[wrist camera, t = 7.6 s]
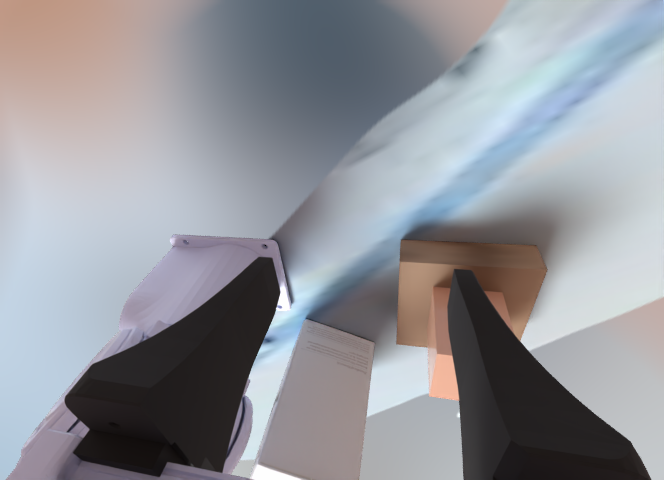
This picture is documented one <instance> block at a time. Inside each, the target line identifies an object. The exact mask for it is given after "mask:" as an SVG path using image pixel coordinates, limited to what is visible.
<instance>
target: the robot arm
mask: <svg viewBox="0 0 664 480" xmlns="http://www.w3.org/2000/svg"><path fill="white" fill-rule="evenodd" d="M186 240H187V241H188V242H187V241H186ZM170 242H171V244H172V246H173V247H172V249H171V250H170V251H169V252H168V253H167V254H166V255H165V256H164V257H163V259H162V260H161V261H160V262H159V263H158V264H157V265H156V266H155V267H154V269H153V270H152V271H151V272H150V273H149V274H148V275H147V276H146V278H145V279H144V280H143V281H142V282H141V283H140V284H139V285H138V286H137V288H136V289H135V290H134V291H133V292H132V293H131V295H130V296H129V298H128V299H127V301H126V303H125V305H124V308H123V310H122V313H121V317H120V322H119V332H118V333H117V334H116V335H115V336H114V337H113V338H112V339H111V340H110V341H109V342H108V343H107V344H106V345H105V346H104V347H103V348H102V350H101V351H100V352H99V353H98V354H97V355H96V356H95V357H94V358H93V359H92V361H91V362H90V363H89V364H88V365H87V366H86V367H85V369H84V370H83V371H82V372H81V373H80V374H79V375H78V377H77V378H76V379H75V380H74V381H73V382H72V384H71V385H70V386H69V387H68V388H67V390H66V391H65V392H64V393H63V394H62V396H61V397H60V398H59V400H58V401H57V402H56V403H55V405H54V406H53V407H52V409H51V410H50V411H49V413H48V414H47V416H46V417H45V419H44V420H43V421H42V422H41V423H40V424H39V426H38V427H37V428H36V429H35V430H34V432H33V433H32V434H31V436H30V437H29V439H28V440H27V442H26V443H25V445H24V446H23V448H22V450H21V457H20V459H19V461H18V463H17V466H16V468H15V469H14V470H13V471H12V473H11V474H10V475H9V476H8V478H7V479H6V480H254V479H249V478H244V477H239V476H234V475H230V474H231V473H232V472H233V470H234V469H235V467H236V465H237V464H238V462H239V460H240V458H241V456H242V454H243V452H244V450H245V448H246V445H247V443H248V440H249V437H250V433H251V429H252V415H253V408H252V403H251V400H250V399H249V398H248V397H247V396H245V393H246V390H247V388H248V385H249V383H250V380H249V379H248V377H249V374H250V371H251V368H252V366H253V363H254V361H255V358H256V356H257V354H258V351H259V349H260V347H261V345H262V342H263V340H264V338H265V335H266V333H267V331H268V329H269V326H270V324H271V322H272V319H273V317H274V315H275V311H276V310H282V311H289V310H290V309H291V301H290V297H289V292H288V288H287V283H286V279H285V274H284V270H283V265H282V261H281V256H280V252H279V247H278V244H277V242H276V241H274V240H270V239H251V238H230V237H211V236H193V235H192V236H191V235H173V236H172V237H171V238H170ZM264 244H265V245H267V246H265V245H264ZM447 313H448V332H449V338H450V344H451V350H452V356H453V362H454V368H455V374H456V380H457V386H458V394H459V405H460V420H461V436H462V454H463V476H464V480H651V478H650V476H649V474H648V472H647V470H646V468H645V466H644V464H643V462H642V460H641V458H640V457H639V455H638V453H637V452H636V450H635V449H634V447H633V445H632V443H631V442H630V441H629V440H628V439H627V438H625V437H624V436H623V435H621V434H620V433H619V432H617V431H616V430H615V429H614V428H612V427H611V426H610V425H608V424H607V423H606V422H604V421H603V420H602V419H601V418H599V417H598V416H597V415H595V414H594V413H593V412H592V411H591V410H589V409H588V408H587V407H586V406H585V405H583V404H582V403H581V402H580V401H579V400H578V399H576V398H575V397H574V396H573V395H572V394H571V393H570V392H569V391H567V390H566V389H565V388H564V387H563V386H562V385H561V384H560V383H559V382H558V381H557V380H556V379H555V378H554V377H552V375H551V374H550V373H549V372H548V371H547V370H546V369H545V368H544V367H543V366H542V365H541V364H540V363H539V362H538V361H537V360H536V359H535V358H534V357H533V356H532V354H531V353H530V352H529V351H528V350H527V349H526V348H525V347H524V345H523V344H522V343H521V342H520V341H519V339H518V338H517V337H516V336H515V334H514V333H513V332H512V331H511V329H510V328H509V327H508V325H507V324H506V323H505V321H504V320H503V319H502V317H501V316H500V314H499V313H498V311H497V310H496V309H495V307H494V306H493V304H492V303H491V301H490V300H489V298H488V297H487V295H486V293H485V292H484V290H483V288H482V287H481V285H480V283H479V281H478V280H477V278H476V276H475V274H474V272H473V271H472V270H463V269H454V271H453V277H452V282H451V288H450V294H449V299H448V305H447Z"/></svg>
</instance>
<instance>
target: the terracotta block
mask: <svg viewBox="0 0 664 480" xmlns="http://www.w3.org/2000/svg"><path fill="white" fill-rule="evenodd" d="M484 292H485V293H486V295H487V297H488V298H489V300H490V301H491V303H492V304H493V306H494V307H495V309H496V310H497V311H498V313H499V314H500V316H501V317H502V319H503V320H504V321H505V323H506V324H507V325H508V327H509V328H510V329H511V331H512V332H513V333H514V331H513V328H512V324H511V321H510V317H509V314H508V310H507V306H506V303H505V299H504V296H503V292H492V291H484ZM449 294H450V288H442V287H433V290H432V297H431V304H430V311H429V318H428V325H427V344H428V374H429V396H430V397H437V398H444V399H451V400H458V401H459V394H458V386H457V380H456V374H455V368H454V362H453V356H452V350H451V344H450V338H449V332H448V313H447V305H448V299H449Z"/></svg>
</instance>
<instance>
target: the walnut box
mask: <svg viewBox="0 0 664 480" xmlns="http://www.w3.org/2000/svg"><path fill="white" fill-rule="evenodd" d="M454 269H463V270H472V271H473V272H474V274H475V276H476V278H477V280H478V281H479V283H480V285H481V287H482V288H483V290H484V291H492V292H503V296H504V299H505V303H506V306H507V310H508V314H509V317H510V321H511V324H512V328H513V331H514V334H515V336H516V337H517V338H518V339H519V341H520V340H521V337H522V335H523V332H524V330H525V327H526V324H527V322H528V319H529V317H530V314H531V311H532V309H533V306H534V304H535V301H536V298H537V296H538V293H539V291H540V288H541V285H542V283H543V280H544V278H545V275H546V272H547V268H546V266H545V263H544V261H543V259H542V257H541V255H540V252H539V250H538V248H537V246H536V245H515V244H492V243H468V242H444V241H420V240H401V245H400V265H399V291H398V317H397V343H396V344H399V345H408V346H418V347H428V344H427V325H428V318H429V311H430V304H431V297H432V290H433V287H442V288H451V282H452V277H453V271H454Z"/></svg>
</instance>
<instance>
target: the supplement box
mask: <svg viewBox="0 0 664 480" xmlns="http://www.w3.org/2000/svg"><path fill="white" fill-rule="evenodd" d="M374 346H375V343H374V342H371V341H369V340H366V339H363V338H360V337H357V336H355V335H352V334H349V333H346V332H343V331H340V330H338V329H335V328H332V327H329V326H326V325H323V324H320V323H318V322H315V321H311V320H308V319H305V320H304V322H303V325H302V327H301V330H300V333H299V336H298V338H297V341H296V344H295V346H294V349H293V351H292V354H291V356H290V359H289V362H288V365H287V367H286V370H285V373H284V376H283V379H282V381H281V384H280V387H279V390H278V393H277V396H276V399H275V402H274V405H273V408H272V411H271V414H270V417H269V420H268V423H267V426H266V429H265V432H264V435H263V438H262V441H261V444H260V447H259V450H258V453H257V456H256V459H255V462H254V465H253V468H252V471H251V474H250V478H249V479H254V480H359V476H360V467H361V458H362V449H363V440H364V432H365V423H366V415H367V406H368V398H369V389H370V380H371V372H372V364H373V354H374Z"/></svg>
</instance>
